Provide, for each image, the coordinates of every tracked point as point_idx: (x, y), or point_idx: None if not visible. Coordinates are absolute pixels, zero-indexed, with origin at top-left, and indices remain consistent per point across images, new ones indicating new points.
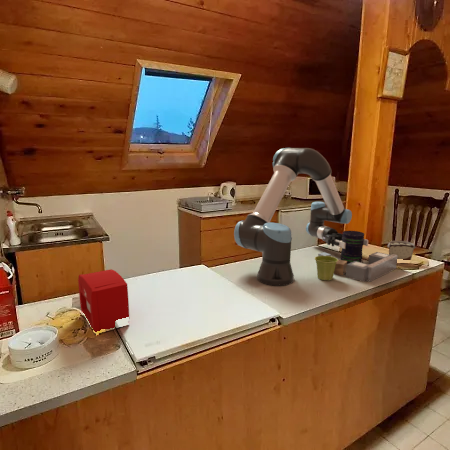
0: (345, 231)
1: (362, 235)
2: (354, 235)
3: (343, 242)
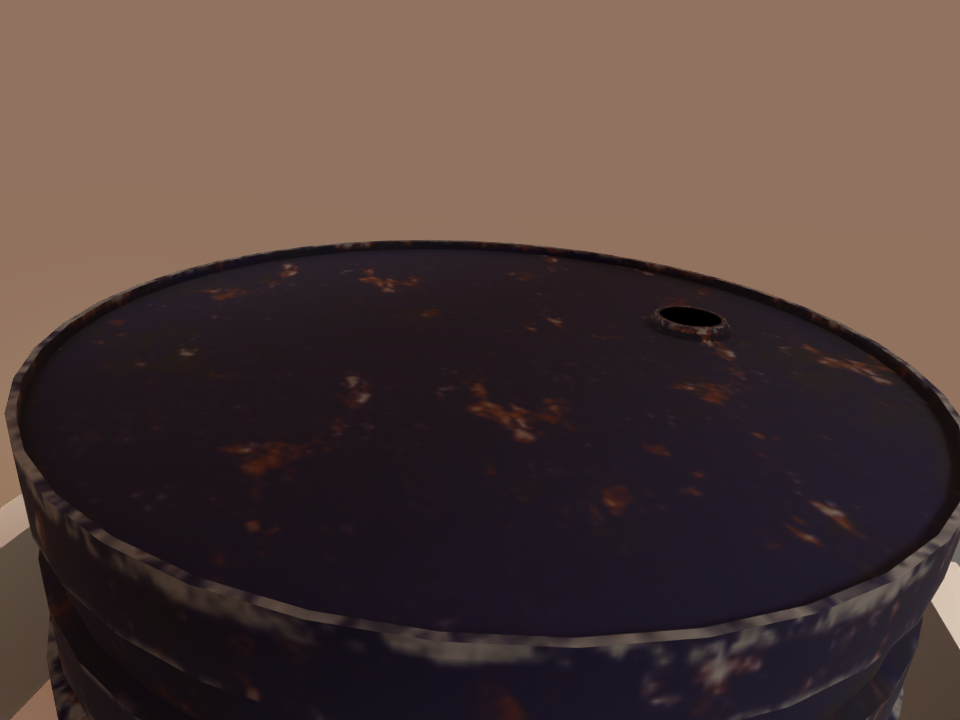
0: (524, 629)
1: (476, 250)
2: (706, 276)
3: (957, 605)
